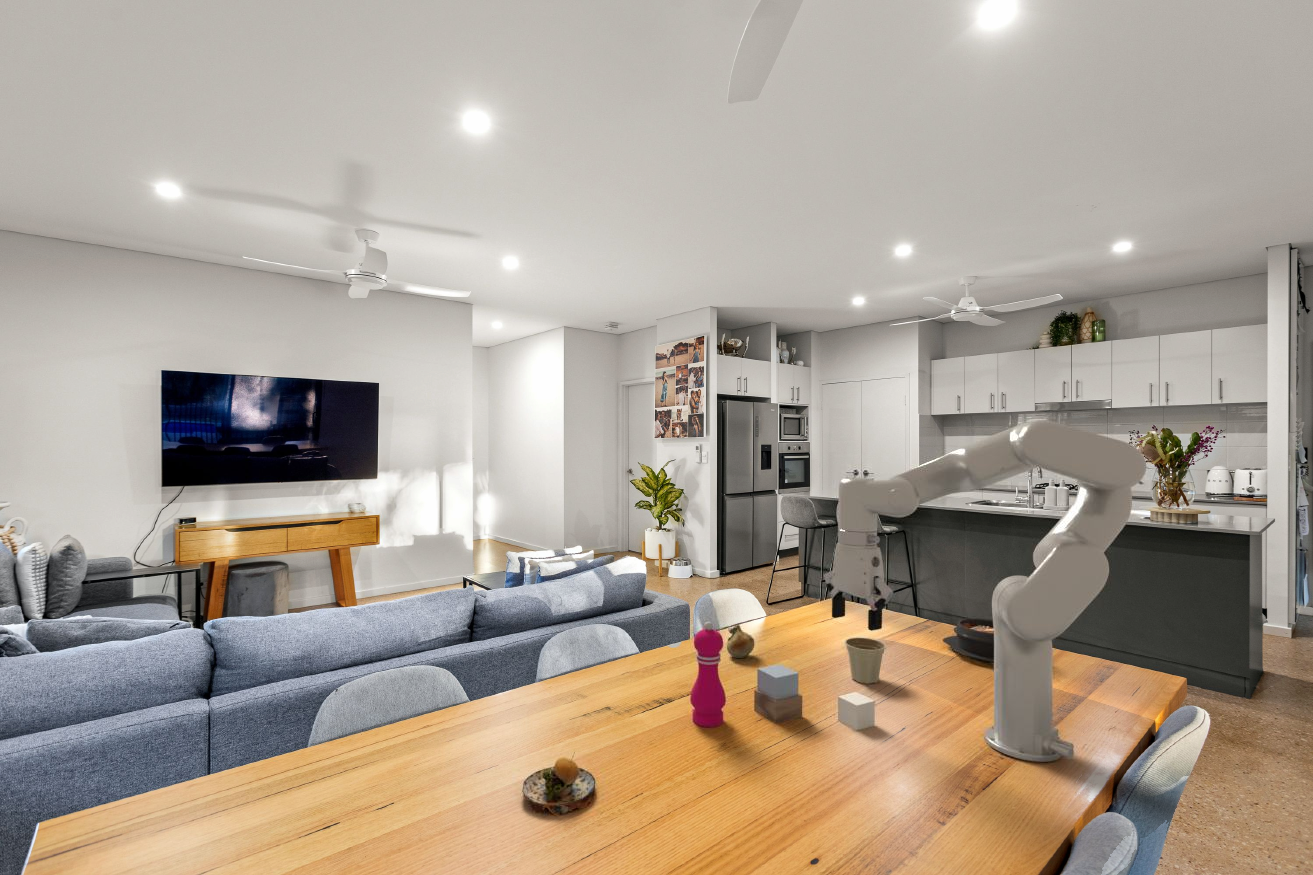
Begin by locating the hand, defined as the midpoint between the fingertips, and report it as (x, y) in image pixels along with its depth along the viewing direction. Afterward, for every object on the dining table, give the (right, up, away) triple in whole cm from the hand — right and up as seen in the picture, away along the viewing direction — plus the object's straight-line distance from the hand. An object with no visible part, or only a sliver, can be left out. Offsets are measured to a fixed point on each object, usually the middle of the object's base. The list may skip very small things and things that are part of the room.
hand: (856, 622), depth 128 cm
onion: (-18, -21, +39) cm, 48 cm away
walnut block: (-15, -20, +4) cm, 26 cm away
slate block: (-15, -16, +4) cm, 22 cm away
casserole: (+48, -21, +41) cm, 66 cm away
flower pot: (+10, -21, +23) cm, 33 cm away
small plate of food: (-56, -20, -27) cm, 65 cm away
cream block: (0, -20, 0) cm, 20 cm away
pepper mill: (-30, -20, 0) cm, 36 cm away
